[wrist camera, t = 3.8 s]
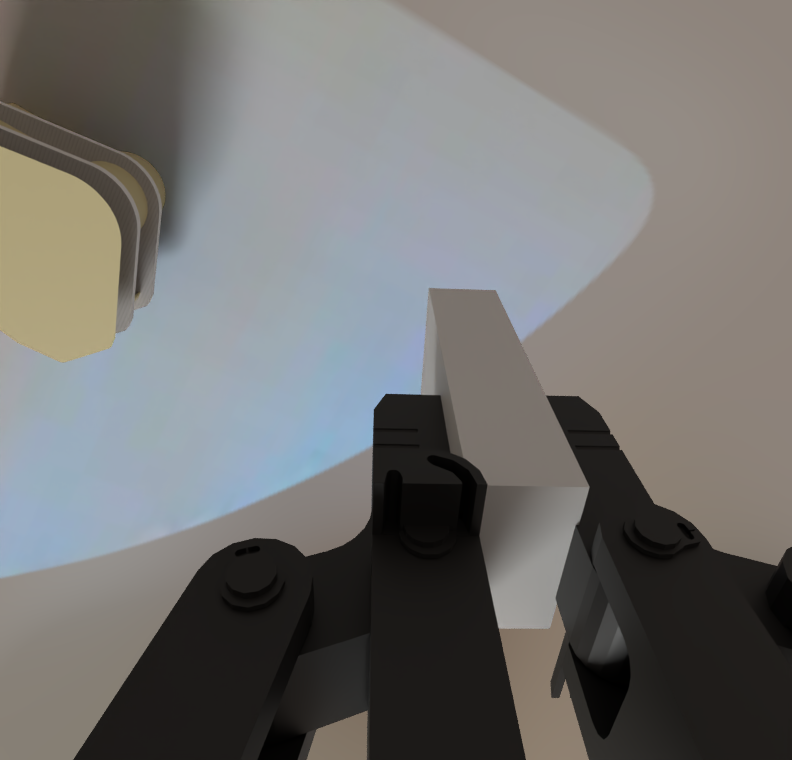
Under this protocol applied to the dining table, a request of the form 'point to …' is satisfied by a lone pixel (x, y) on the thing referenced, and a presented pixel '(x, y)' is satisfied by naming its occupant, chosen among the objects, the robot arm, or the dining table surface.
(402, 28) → the dining table surface
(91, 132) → the dining table surface
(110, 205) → the stacked layers on plate
